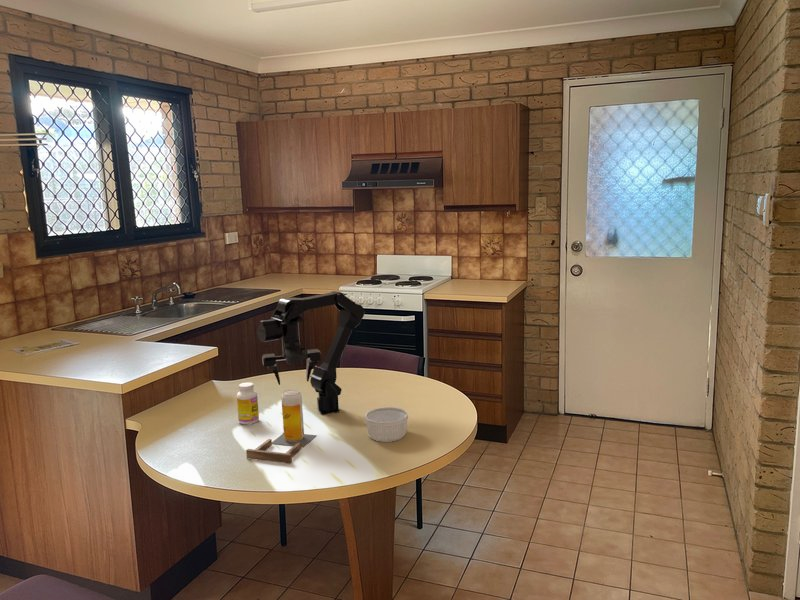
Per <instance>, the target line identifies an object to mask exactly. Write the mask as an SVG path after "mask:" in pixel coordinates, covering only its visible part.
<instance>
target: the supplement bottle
mask: <svg viewBox="0 0 800 600" xmlns="http://www.w3.org/2000/svg"><path fill="white" fill-rule="evenodd" d="M254 387H255V385H254V383H253V382H242V383H240V384H238V389H239V391H238V392H237V393H236V406H237V407H236V408H237V418H238V419H237V421H238V422H239V424H241V425H252V424H253V425H254V424H255V423H257V422H259V420H260V415H259V403H258V402H259V401H258V392H257V391H256V390H254Z"/></svg>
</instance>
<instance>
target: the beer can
mask: <svg viewBox="0 0 800 600" xmlns="http://www.w3.org/2000/svg"><path fill="white" fill-rule="evenodd" d="M280 399H281V411H282V412H281V413H282V414H281V415H282V427H283V428H282V429H283V433H284V438H285V439H286V441H288V442H297V441H300V440H302V439H303V437H304V434H305V428H304V414H303V398H302V393H301V390H299V389H292V388H291V389H287V390H284V391H282V394H281V397H280Z"/></svg>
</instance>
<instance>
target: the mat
mask: <svg viewBox="0 0 800 600" xmlns="http://www.w3.org/2000/svg"><path fill="white" fill-rule="evenodd" d="M316 437H317V435H316V434H308V433H304V437H303V439H302V440H300V441H297V442H288V441H286V439H285V438H284V432H283V433H282V434H281V435H279V436H278V437H276V438H275V439H274V440H272V445H277V444H278V446H279V445H280V446H287V447H293V446H294V445H296V444H297V443H298V442H301V443H302V448H305V446H307V445H308V444H309V443H310V442H311V441H312V440H314V439H315V438H316Z"/></svg>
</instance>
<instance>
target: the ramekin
mask: <svg viewBox="0 0 800 600" xmlns="http://www.w3.org/2000/svg"><path fill="white" fill-rule="evenodd" d="M408 419H409V413H408V411H407V410H405V409H403V408H401V407H395V406H384V407H383V406H381V407H377V408H373V409H370V410H368V411H367V412H366V413H365V415H364V421H365V423H366V424H365V425H366V430H367V434H368V436H369V438H371V440H373V441H375V440H376V442H379V441H381V443H392V441H393V442H397V441H399V440H401V439H403V438H404V436H405V435H406V434H407V426H408Z"/></svg>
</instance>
